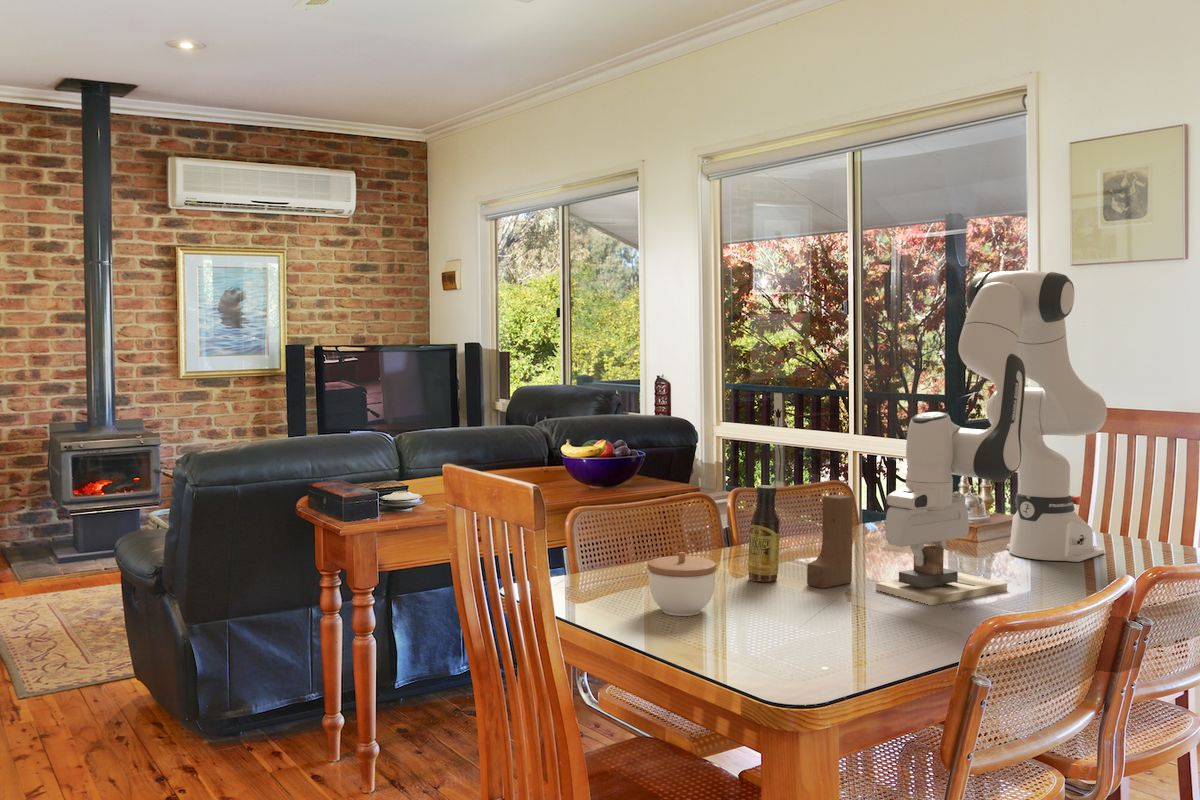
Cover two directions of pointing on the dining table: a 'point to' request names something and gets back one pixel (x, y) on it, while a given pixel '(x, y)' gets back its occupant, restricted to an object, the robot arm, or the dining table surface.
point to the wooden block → (834, 545)
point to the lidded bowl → (681, 583)
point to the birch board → (944, 589)
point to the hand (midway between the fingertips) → (928, 564)
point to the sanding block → (929, 570)
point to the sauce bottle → (764, 537)
